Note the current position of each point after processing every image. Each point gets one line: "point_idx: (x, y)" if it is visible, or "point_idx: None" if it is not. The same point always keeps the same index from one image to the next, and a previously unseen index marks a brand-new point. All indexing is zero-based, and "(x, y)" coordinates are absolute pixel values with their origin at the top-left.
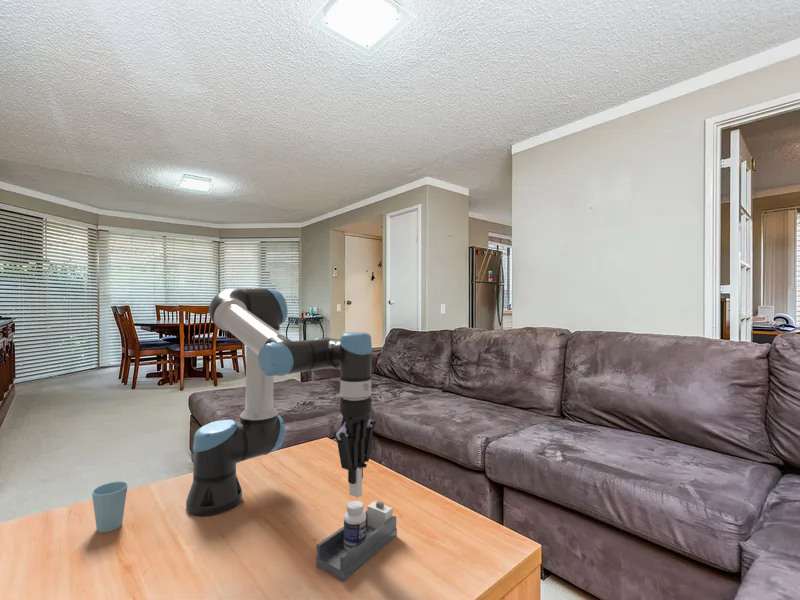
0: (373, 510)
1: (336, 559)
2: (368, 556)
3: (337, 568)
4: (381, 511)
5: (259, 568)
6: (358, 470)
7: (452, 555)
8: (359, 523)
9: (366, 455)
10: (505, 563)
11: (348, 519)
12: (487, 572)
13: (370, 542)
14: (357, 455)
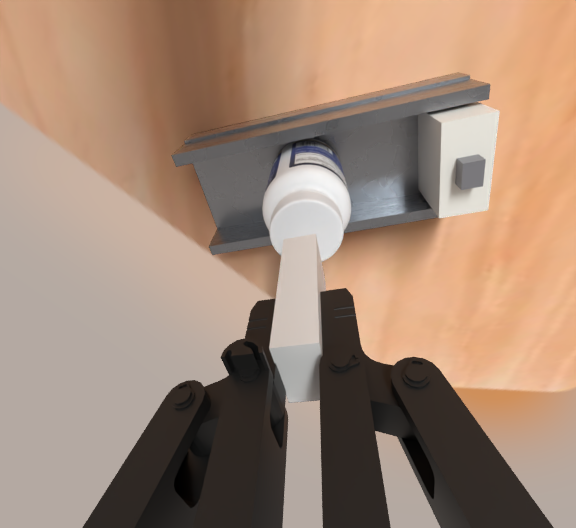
0: (437, 157)
1: (229, 189)
2: None
3: (214, 219)
4: (440, 198)
5: (28, 8)
6: (295, 398)
7: (460, 317)
8: None
9: (412, 468)
10: (494, 380)
11: (266, 222)
12: (449, 373)
13: None
14: (280, 524)
